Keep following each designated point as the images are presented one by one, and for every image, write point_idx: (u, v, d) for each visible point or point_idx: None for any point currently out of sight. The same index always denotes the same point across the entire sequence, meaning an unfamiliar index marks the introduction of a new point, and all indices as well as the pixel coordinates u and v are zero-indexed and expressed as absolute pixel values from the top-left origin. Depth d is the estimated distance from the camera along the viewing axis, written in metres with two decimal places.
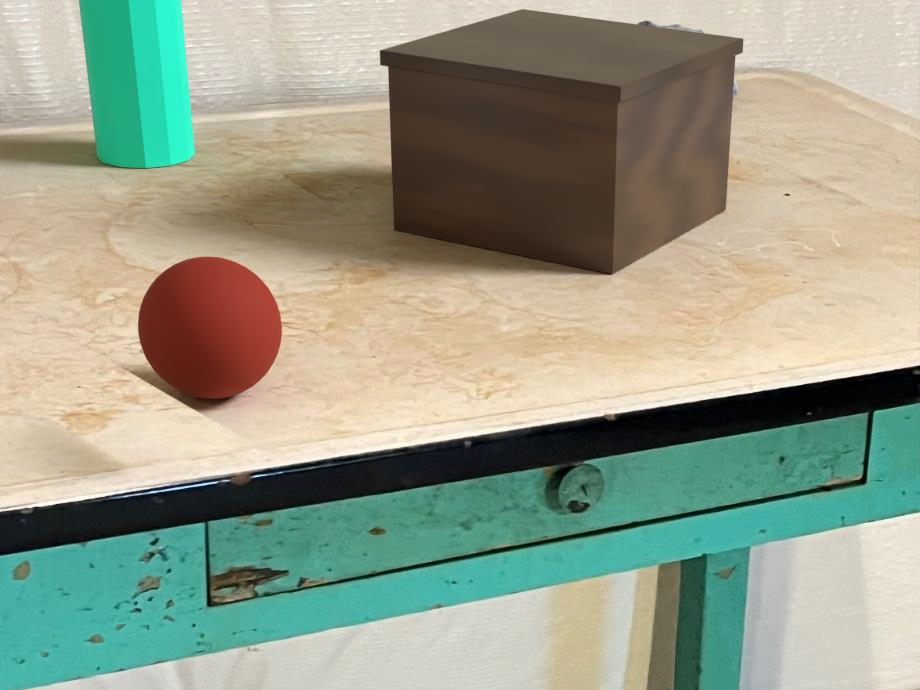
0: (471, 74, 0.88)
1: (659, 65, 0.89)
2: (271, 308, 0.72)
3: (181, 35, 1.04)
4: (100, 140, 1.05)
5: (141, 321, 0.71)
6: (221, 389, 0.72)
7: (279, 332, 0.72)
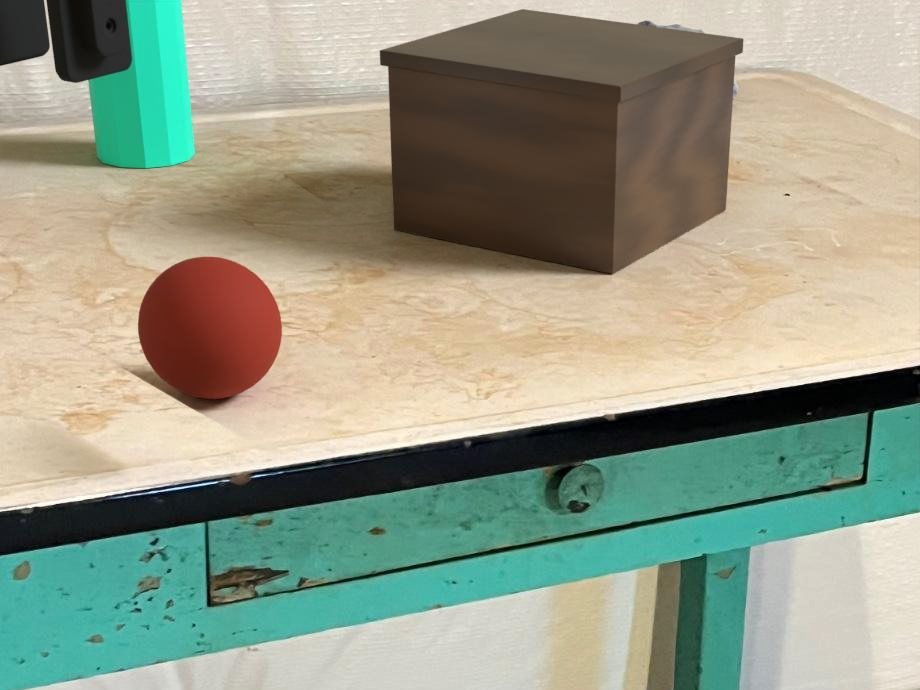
0: (471, 74, 0.88)
1: (659, 65, 0.89)
2: (271, 308, 0.72)
3: (181, 35, 1.04)
4: (100, 140, 1.05)
5: (141, 321, 0.71)
6: (221, 389, 0.72)
7: (279, 332, 0.72)
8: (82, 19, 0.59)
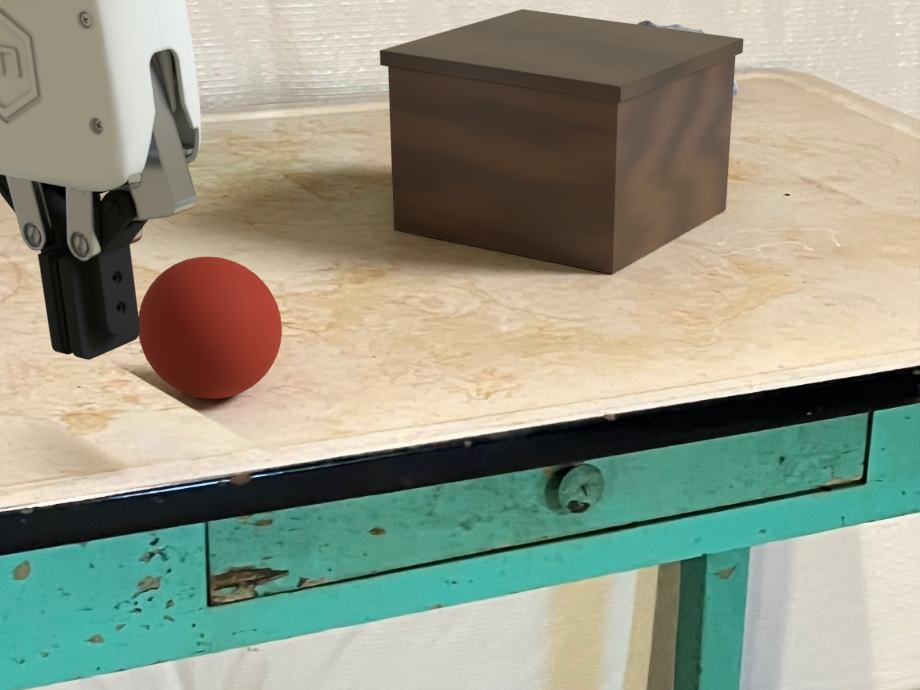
0: (471, 74, 0.88)
1: (659, 65, 0.89)
2: (271, 308, 0.72)
3: None
4: None
5: (141, 321, 0.71)
6: (221, 389, 0.72)
7: (279, 332, 0.72)
8: (95, 305, 0.64)
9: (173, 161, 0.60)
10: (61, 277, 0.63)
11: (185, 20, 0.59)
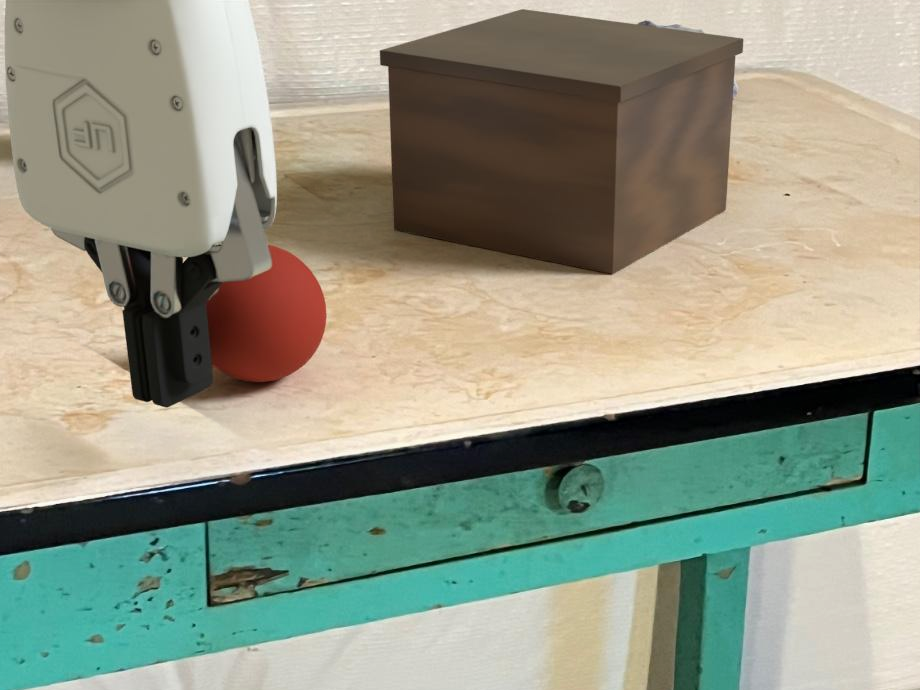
0: (471, 74, 0.88)
1: (659, 65, 0.89)
2: (325, 322, 0.74)
3: None
4: None
5: None
6: (247, 346, 0.72)
7: (316, 348, 0.74)
8: (174, 357, 0.69)
9: (252, 229, 0.65)
10: (144, 332, 0.68)
11: (265, 100, 0.64)
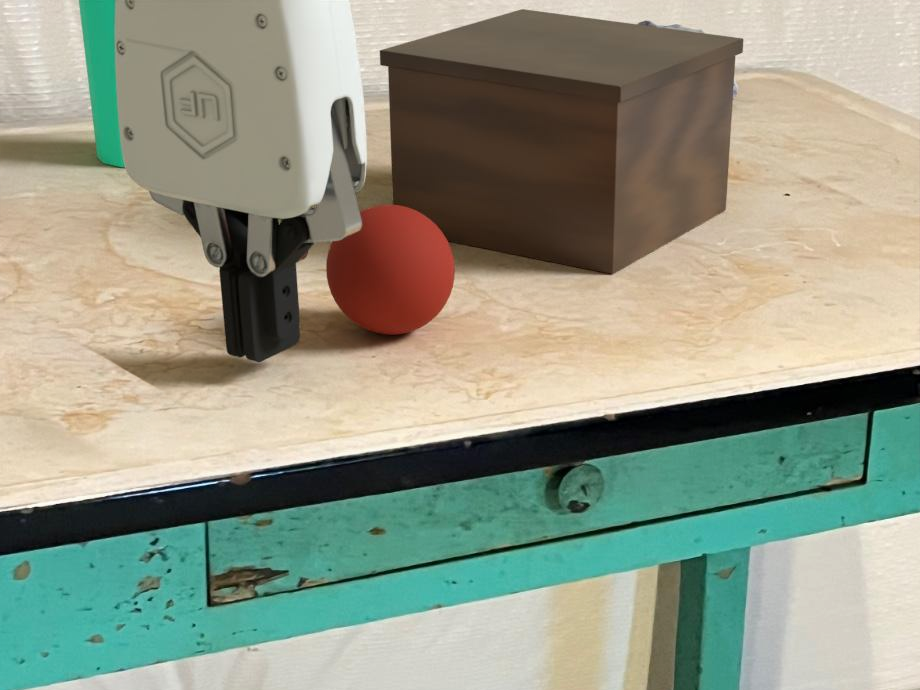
0: (471, 74, 0.88)
1: (659, 65, 0.89)
2: (401, 300, 0.78)
3: None
4: (100, 140, 1.05)
5: None
6: (447, 243, 0.79)
7: (403, 274, 0.77)
8: (267, 314, 0.74)
9: (345, 192, 0.70)
10: (240, 290, 0.73)
11: (358, 71, 0.69)
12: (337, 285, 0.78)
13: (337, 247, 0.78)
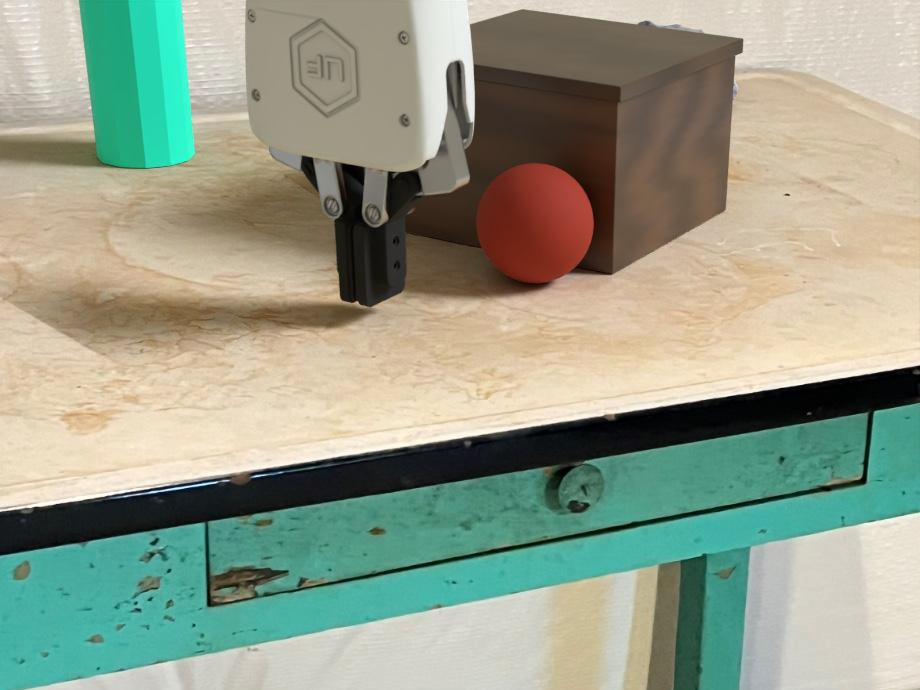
0: None
1: (659, 65, 0.89)
2: (593, 226, 0.87)
3: (181, 35, 1.04)
4: (100, 140, 1.05)
5: (498, 181, 0.85)
6: (536, 255, 0.85)
7: (587, 249, 0.87)
8: (378, 263, 0.80)
9: (455, 148, 0.77)
10: (354, 240, 0.80)
11: (469, 37, 0.76)
12: None
13: None
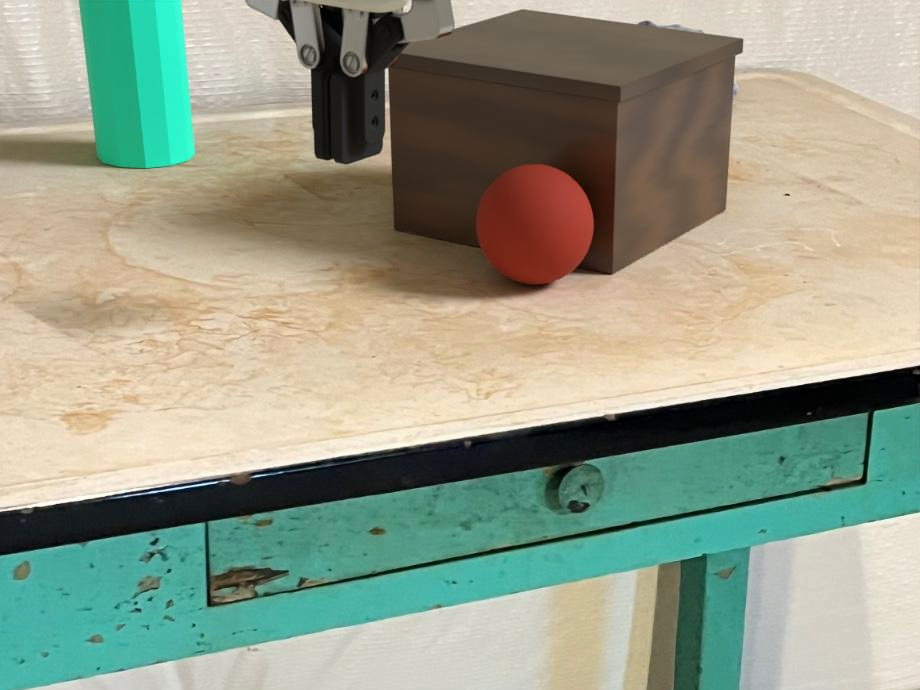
0: (471, 74, 0.88)
1: (659, 65, 0.89)
2: (593, 228, 0.87)
3: (181, 35, 1.04)
4: (100, 140, 1.05)
5: (498, 184, 0.85)
6: (536, 259, 0.85)
7: (587, 251, 0.87)
8: (355, 117, 0.77)
9: None
10: (331, 91, 0.76)
11: None
12: None
13: None
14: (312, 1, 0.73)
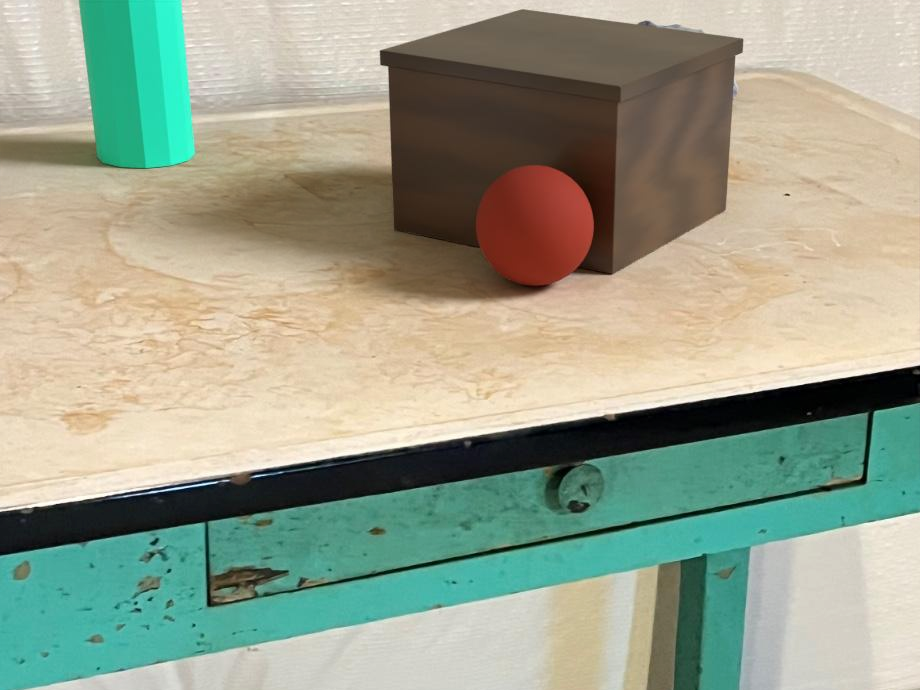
0: (471, 74, 0.88)
1: (659, 65, 0.89)
2: (593, 229, 0.86)
3: (181, 35, 1.04)
4: (100, 140, 1.05)
5: (497, 186, 0.85)
6: (535, 263, 0.85)
7: (587, 252, 0.87)
8: None
9: None
10: None
11: None
12: None
13: None
14: None
